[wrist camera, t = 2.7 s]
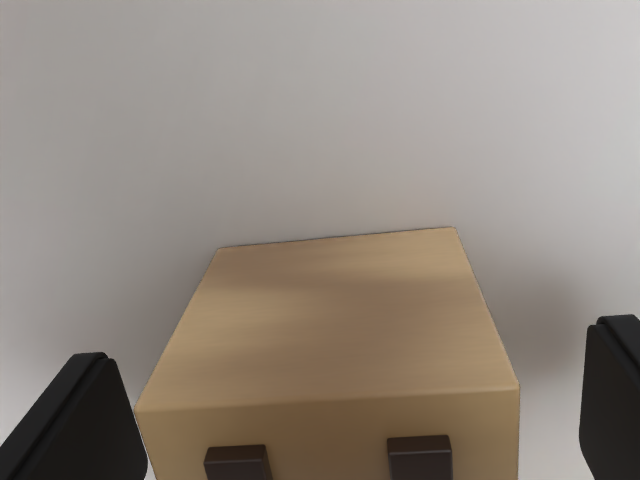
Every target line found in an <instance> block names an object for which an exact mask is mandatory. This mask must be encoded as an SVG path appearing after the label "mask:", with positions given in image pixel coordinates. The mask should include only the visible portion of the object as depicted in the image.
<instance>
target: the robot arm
mask: <svg viewBox="0 0 640 480" xmlns="http://www.w3.org/2000/svg"><path fill="white" fill-rule="evenodd" d="M579 442H580V447H581V451H582V454H583V456H584V458H585V460H586V462H587V464H588V466H589V468H590V470H591V472H592V475H593V477H594V479H595V480H640V320H639V319H638V318H637V317H636V316H635V315H632V314H628V315H614V316H601V317H599V318H598V320H597V324H596V325H590V326H589V327H588V329H587V338H586V351H585V363H584V376H583V389H582V402H581V414H580V427H579ZM147 468H148V458H147V454H146V451H145V448H144V445H143V442H142V439H141V436H140V433H139V430H138V427H137V424H136V421H135V418H134V415H133V412H132V409H131V406H130V403H129V400H128V397H127V394H126V391H125V387H124V384H123V381H122V378H121V375H120V372H119V369H118V366H117V364H116V361H115V360H114V359H112V358H108V356H107V355H106V354H105V353H103V352H94V353H80V354H74V355H73V356H72V357H71V358H70V359H69V360H68V361H67V363H66V364H65V365H64V366H63V368H62V369H61V370H60V372H59V373H58V374H57V375H56V377H55V378H54V379H53V380H52V382H51V383H50V384H49V386H48V387H47V388H46V389H45V391H44V392H43V393H42V394H41V396H40V397H39V398H38V400H37V401H36V402H35V403H34V405H33V406H32V407H31V408H30V410H29V411H28V412H27V414H26V415H25V416H24V417H23V419H22V420H21V421H20V422H19V424H18V425H17V426H16V428H15V429H14V430H13V431H12V433H11V434H10V435H9V436H8V438H7V439H6V440H5V442H4V443H3V444H2V445H1V447H0V480H144V478H145V476H146V473H147Z"/></svg>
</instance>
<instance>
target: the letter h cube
mask: <svg viewBox="0 0 640 480" xmlns="http://www.w3.org/2000/svg"><path fill="white" fill-rule="evenodd" d="M134 414H135V417H136V420H137V423H138V426H139V429H140V432H141V435H142V438H143V441H144V444H145V447H146V450H147V453H148V456H149V459H150V462H151V465H152V468H153V471H154V474H155V477H156V480H518V456H519V418H520V384H519V382H518V380H517V377H516V375H515V372H514V370H513V367H512V365H511V362H510V360H509V358H508V355H507V353H506V350H505V348H504V345H503V343H502V341H501V338H500V336H499V333H498V331H497V328H496V326H495V324H494V321H493V319H492V316H491V314H490V311H489V309H488V306H487V304H486V302H485V299H484V297H483V294H482V292H481V289H480V287H479V285H478V282H477V280H476V277H475V275H474V272H473V270H472V267H471V265H470V263H469V260H468V258H467V255H466V253H465V250H464V248H463V246H462V243H461V241H460V238H459V236H458V233H457V231H456V229H455V228H454V227H446V228H435V229H424V230H413V231H402V232H391V233H380V234H369V235H358V236H347V237H336V238H325V239H314V240H303V241H292V242H281V243H270V244H259V245H248V246H237V247H226V248H219V249H217V251H216V253H215V255H214V257H213V259H212V260H211V262H210V264H209V266H208V268H207V270H206V272H205V274H204V276H203V277H202V279H201V281H200V283H199V285H198V287H197V289H196V291H195V293H194V294H193V296H192V298H191V300H190V302H189V304H188V306H187V308H186V310H185V311H184V313H183V315H182V317H181V319H180V321H179V323H178V325H177V327H176V328H175V330H174V332H173V334H172V336H171V338H170V340H169V342H168V344H167V345H166V347H165V349H164V351H163V353H162V355H161V357H160V359H159V361H158V363H157V364H156V366H155V368H154V370H153V372H152V374H151V376H150V378H149V380H148V381H147V383H146V385H145V387H144V389H143V391H142V393H141V395H140V397H139V398H138V400H137V402H136V404H135V406H134Z"/></svg>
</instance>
